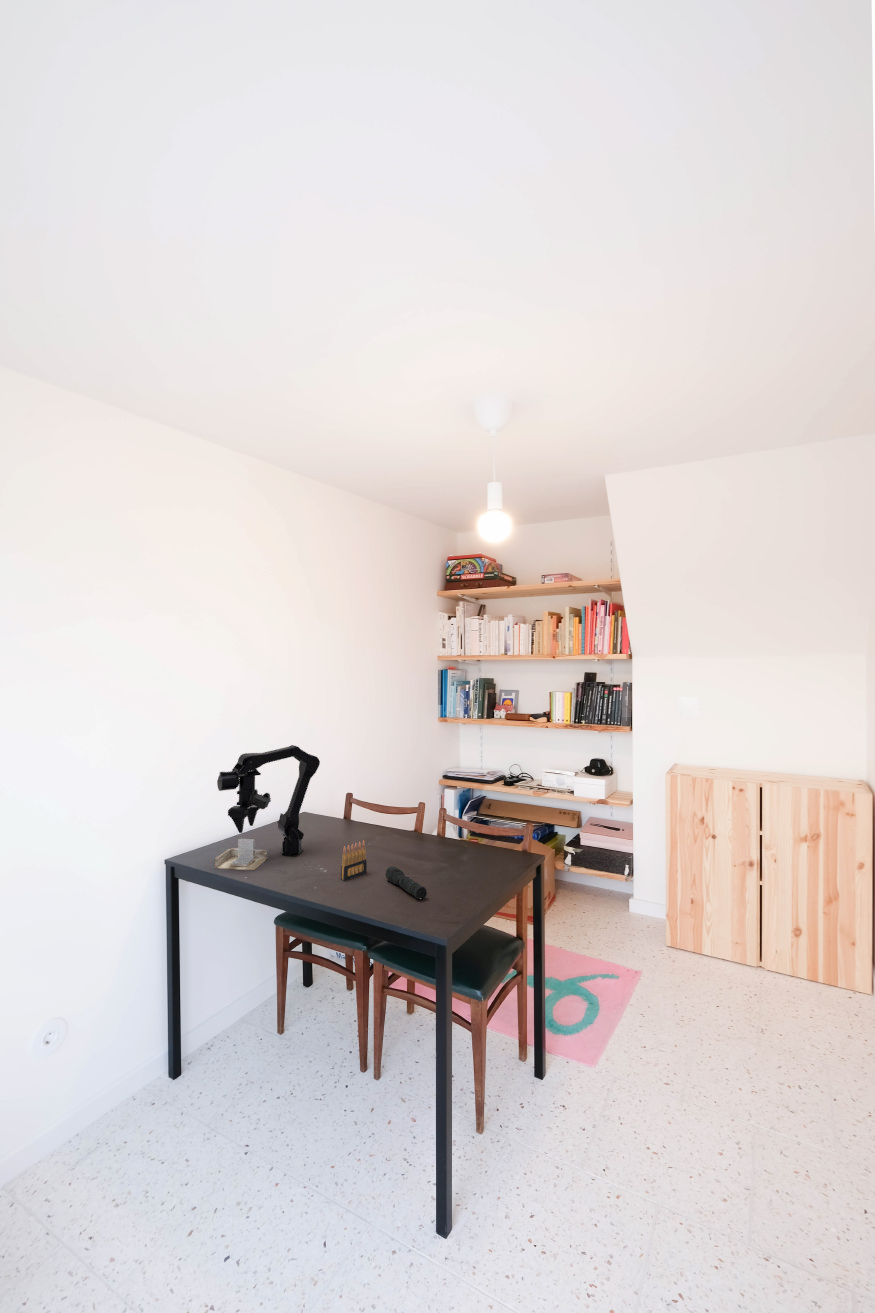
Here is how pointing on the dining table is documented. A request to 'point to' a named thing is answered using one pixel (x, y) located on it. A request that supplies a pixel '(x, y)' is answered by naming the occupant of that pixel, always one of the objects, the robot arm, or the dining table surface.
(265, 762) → the robot arm
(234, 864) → the bracket
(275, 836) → the dining table surface
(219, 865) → the tray
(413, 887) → the flashlight
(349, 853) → the ammunition clip
